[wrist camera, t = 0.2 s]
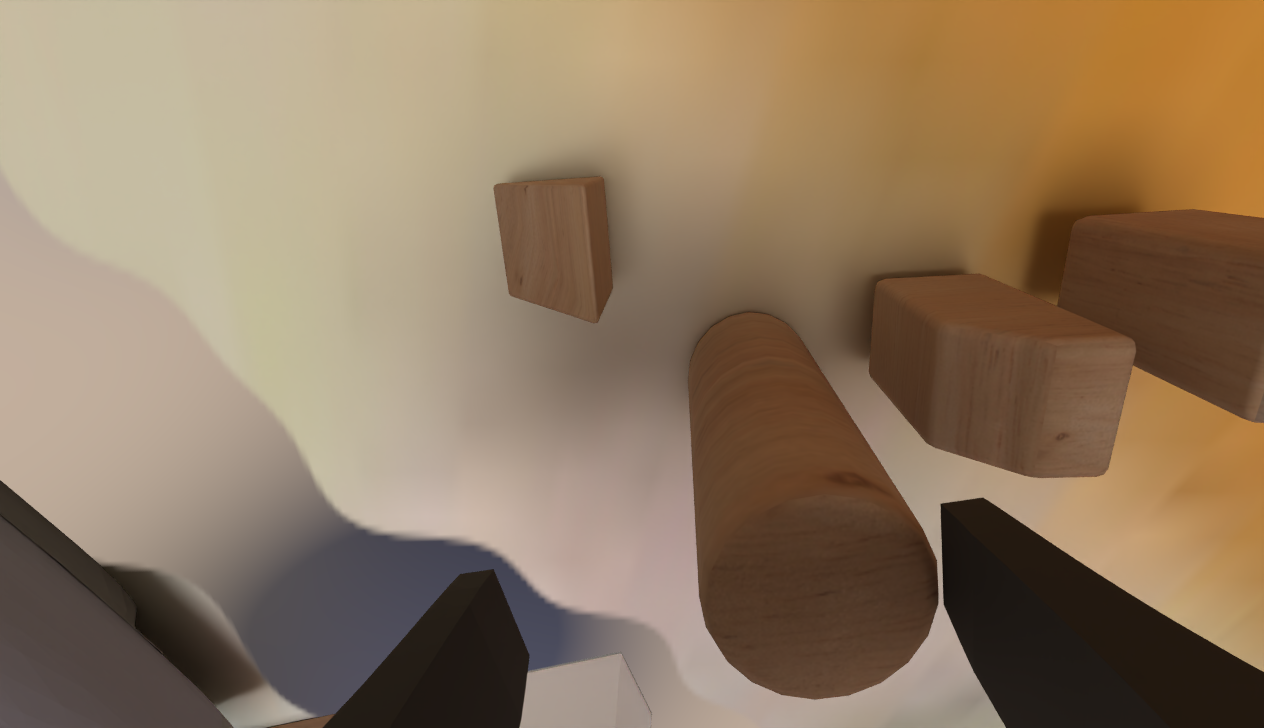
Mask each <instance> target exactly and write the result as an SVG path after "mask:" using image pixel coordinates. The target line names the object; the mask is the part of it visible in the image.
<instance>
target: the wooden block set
mask: <svg viewBox="0 0 1264 728" xmlns="http://www.w3.org/2000/svg"><path fill="white" fill-rule="evenodd" d="M494 194H495V201H496V208H497V215H498V221H499V228H500V235H501V242H502V249H503V256H504V262H505V269H506V276H507V283H508V290H509V294H510V295H511V296H513V297H516V298H519V299H522V300H525V301H528V302H531V303H534V304H537V305H540V306H543V307H546V308H549V309H552V310H556V311H559V312H562V313H565V314H568V315H571V316H574V317H577V318H580V319H583V320H586V321H589V322H592V323H598V321H599V319H600V316H601V314H602V312H603V310H604V307H605V305H606V303H607V301H608V298H609V296H610V294H611V291H612V289H613V282H612V270H611V259H610V247H609V235H608V223H607V211H606V199H605V187H604V179H603V177H600V176H599V177H585V178H571V179H558V180H544V181H530V182H516V183H502V184H496V185H495V186H494ZM1133 365H1134V366H1136V367H1138V368H1140V369H1142V370H1144V371H1146V372H1148V373H1150V374H1152V375H1154V376H1156V377H1158V378H1160V379H1162V380H1165V381H1167V382H1169V383H1171V384H1173V385H1175V386H1177V387H1179V388H1181V389H1183V390H1185V391H1187V392H1189V393H1191V394H1193V395H1196V396H1198V397H1200V398H1202V399H1204V400H1206V401H1208V402H1210V403H1212V404H1214V405H1216V406H1218V407H1220V408H1222V409H1224V410H1227V411H1229V412H1231V413H1233V414H1235V415H1237V416H1239V417H1241V418H1243V419H1246V420H1249V421H1252V422H1256V423H1264V218H1259V217H1251V216H1243V215H1235V214H1227V213H1219V212H1211V211H1203V210H1195V209H1191V210H1175V211H1159V212H1142V213H1126V214H1109V215H1093V216H1087V217H1085V218H1082V219H1079V220H1076V221H1075V223H1074V225H1073V226H1072V229H1071V235H1070V240H1069V246H1068V251H1067V257H1066V262H1065V267H1064V273H1063V278H1062V284H1061V289H1060V295H1059V300H1058V306H1055V305H1053V304H1050V303H1048V302H1046V301H1043V300H1041V299H1039V298H1036V297H1034V296H1032V295H1029V294H1027V293H1025V292H1022V291H1020V290H1017V289H1015V288H1013V287H1010V286H1008V285H1006V284H1003V283H1001V282H999V281H996V280H994V279H992V278H989V277H987V276H984V275H981V274H965V275H946V276H928V277H909V278H890V279H883V280H881V281H878V282H877V284H876V287H875V293H874V307H873V321H872V335H871V348H870V362H869V373H870V376H871V378H872V379H873V380H874V381H875V382H876V384H877V385H878V386H879V387H880V388H881V390H882V391H883V392H884V393H885V394H886V396H887V397H888V398H889V399H890V400H891V401H892V403H893V404H894V405H895V406H896V407H897V409H898V410H899V411H900V412H901V413H902V414H903V416H904V417H905V418H906V419H907V420H908V422H909V423H910V424H911V425H912V426H913V428H914V429H915V430H916V431H917V432H918V433H919V435H920V436H921V437H922V438H923V439H924V441H925V442H926V443H928V444H929V445H931V446H933V447H935V448H938V449H941V450H944V451H947V452H950V453H954V454H957V455H960V456H963V457H966V458H970V459H973V460H976V461H979V462H983V463H986V464H989V465H992V466H995V467H999V468H1002V469H1005V470H1008V471H1011V472H1015V473H1018V474H1021V475H1024V476H1029V477H1037V478H1059V477H1097V476H1100V475H1103V474H1104V473H1105V472H1106V471H1107V469H1108V467H1109V463H1110V459H1111V455H1112V450H1113V446H1114V442H1115V438H1116V434H1117V429H1118V425H1119V421H1120V417H1121V413H1122V408H1123V404H1124V400H1125V396H1126V392H1127V387H1128V383H1129V379H1130V375H1131V371H1132V366H1133ZM688 389H689V409H690V428H691V447H692V467H693V486H694V506H695V525H696V545H697V564H698V583H699V598H700V602H701V607H702V611H703V616H704V621H705V625H706V628H707V630H708V631H709V633H710V634H711V636H712V638H713V639H714V641H715V642H716V644H717V646H718V647H719V649H720V651H721V652H722V654H723V655H724V657H725V658H726V660H727V661H728V662H729V663H730V664H731V665H732V666H733V667H735V668H736V669H737V670H738V671H739V672H741V673H742V674H743V675H744V676H745V677H747V678H748V679H749V680H750V681H751V682H753V683H755V684H758V685H760V686H762V687H765V688H767V689H769V690H772V691H774V692H776V693H779V694H781V695H786V696H794V697H801V698H808V699H823V698H831V697H840V696H848V695H851V694H854V693H856V692H859V691H861V690H864V689H866V688H869V687H872V686H874V685H877V684H879V683H881V682H883V681H884V680H885V679H887V678H888V677H889V676H891V675H892V674H893V673H895V672H896V671H897V670H899V669H900V668H901V667H903V666H904V665H905V664H907V663H908V662H909V661H910V659H911V658H912V657H913V655H914V654H915V652H916V651H917V650H918V648H919V647H920V646H921V644H922V643H923V642H924V640H925V639H926V638H927V636H928V634H929V631H930V628H931V625H932V622H933V619H934V615H935V612H936V609H937V606H938V574H937V560H936V557H935V555H934V553H933V551H932V549H931V546H930V544H929V542H928V540H927V537H926V535H925V533H924V531H923V529H922V527H921V525H920V524H919V522H918V521H917V519H916V518H915V516H914V515H913V513H912V511H911V510H910V508H909V507H908V505H907V504H906V502H905V500H904V499H903V497H902V496H901V494H900V493H899V491H898V490H897V488H896V486H895V485H894V483H893V482H892V480H891V479H890V477H889V476H888V474H887V472H886V471H885V469H884V468H883V466H882V465H881V463H880V462H879V460H878V458H877V457H876V455H875V454H874V452H873V451H872V449H871V448H870V446H869V444H868V443H867V441H866V440H865V438H864V437H863V435H862V433H861V432H860V430H859V429H858V427H857V426H856V424H855V423H854V421H853V419H852V418H851V416H850V415H849V413H848V412H847V410H846V409H845V407H844V405H843V404H842V402H841V401H840V399H839V398H838V396H837V395H836V393H835V391H834V390H833V388H832V387H831V385H830V384H829V382H828V380H827V379H826V377H825V376H824V374H823V373H822V371H821V370H820V368H819V366H818V365H817V363H816V362H815V360H814V359H813V357H812V356H811V354H810V352H809V351H808V349H807V348H806V346H805V345H804V343H803V342H802V340H801V338H800V337H799V336H798V335H797V334H796V333H795V332H794V331H793V330H792V329H791V328H790V327H789V326H788V325H787V324H786V323H785V322H783V321H781V320H779V319H777V318H775V317H772V316H770V315H768V314H760V313H752V312H747V313H742V314H738V315H733V316H729V317H727V318H726V319H724V320H722V321H721V322H719V323H717V324H716V325H714V326H712V327H711V328H710V329H709V330H708V332H707V333H706V334H705V335H704V336H703V337H702V338H701V340H700V341H699V342H698V344H697V346H696V348H695V351H694V353H693V355H692V358H691V360H690V367H689V376H688Z"/></svg>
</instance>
